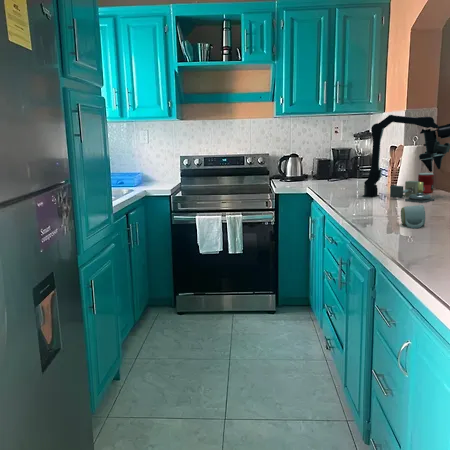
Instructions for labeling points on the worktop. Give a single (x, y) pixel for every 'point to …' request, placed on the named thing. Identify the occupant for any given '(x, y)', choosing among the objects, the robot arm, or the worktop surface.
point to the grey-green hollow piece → (411, 185)
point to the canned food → (426, 182)
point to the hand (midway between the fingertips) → (435, 170)
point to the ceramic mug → (413, 216)
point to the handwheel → (420, 193)
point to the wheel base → (420, 200)
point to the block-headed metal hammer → (398, 191)
